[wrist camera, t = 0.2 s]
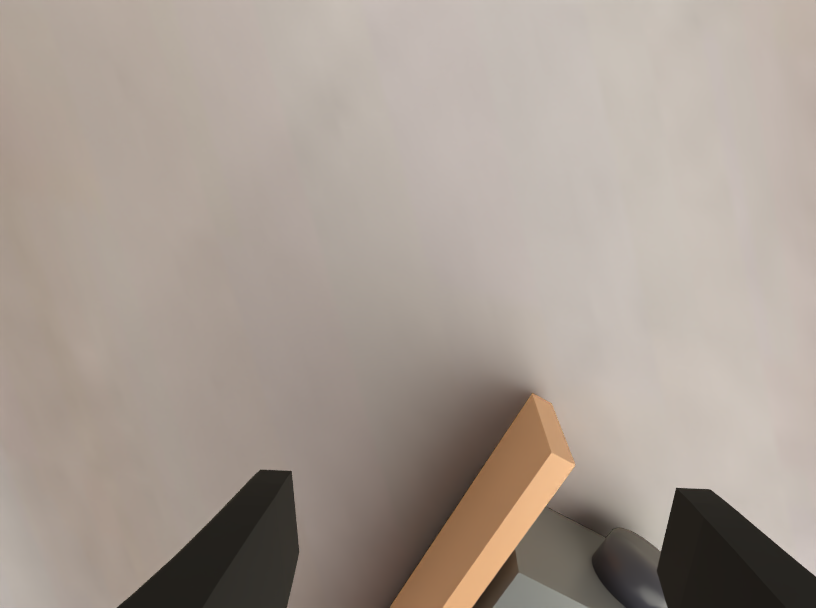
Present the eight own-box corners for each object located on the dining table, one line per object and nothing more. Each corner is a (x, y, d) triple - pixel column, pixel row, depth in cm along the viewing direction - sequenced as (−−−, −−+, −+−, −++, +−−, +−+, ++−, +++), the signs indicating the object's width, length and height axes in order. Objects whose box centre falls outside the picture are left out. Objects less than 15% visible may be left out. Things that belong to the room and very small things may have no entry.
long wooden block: (353, 697, 24) (334, 800, 20) (333, 688, 24) (310, 789, 20) (554, 404, 20) (578, 466, 16) (529, 391, 20) (548, 451, 16)
